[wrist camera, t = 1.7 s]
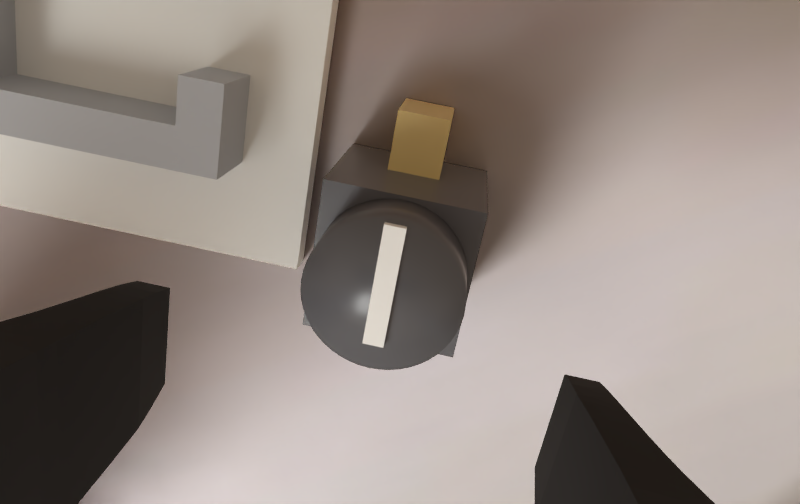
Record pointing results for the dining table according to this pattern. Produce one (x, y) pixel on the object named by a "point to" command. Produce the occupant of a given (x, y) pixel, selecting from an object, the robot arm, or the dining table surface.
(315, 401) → the dining table surface
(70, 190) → the hub panel
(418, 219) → the knob
